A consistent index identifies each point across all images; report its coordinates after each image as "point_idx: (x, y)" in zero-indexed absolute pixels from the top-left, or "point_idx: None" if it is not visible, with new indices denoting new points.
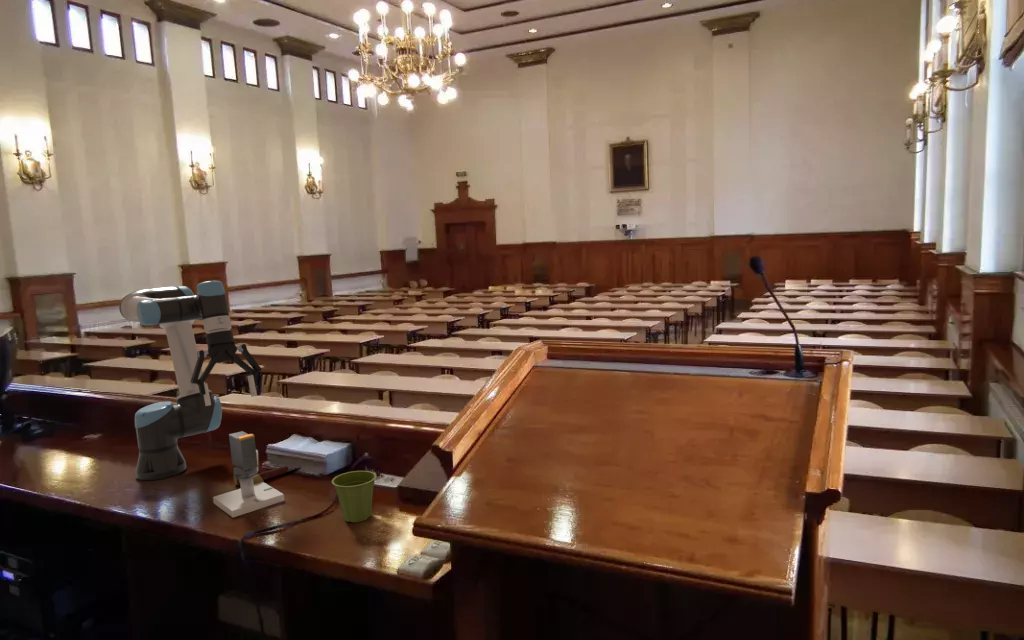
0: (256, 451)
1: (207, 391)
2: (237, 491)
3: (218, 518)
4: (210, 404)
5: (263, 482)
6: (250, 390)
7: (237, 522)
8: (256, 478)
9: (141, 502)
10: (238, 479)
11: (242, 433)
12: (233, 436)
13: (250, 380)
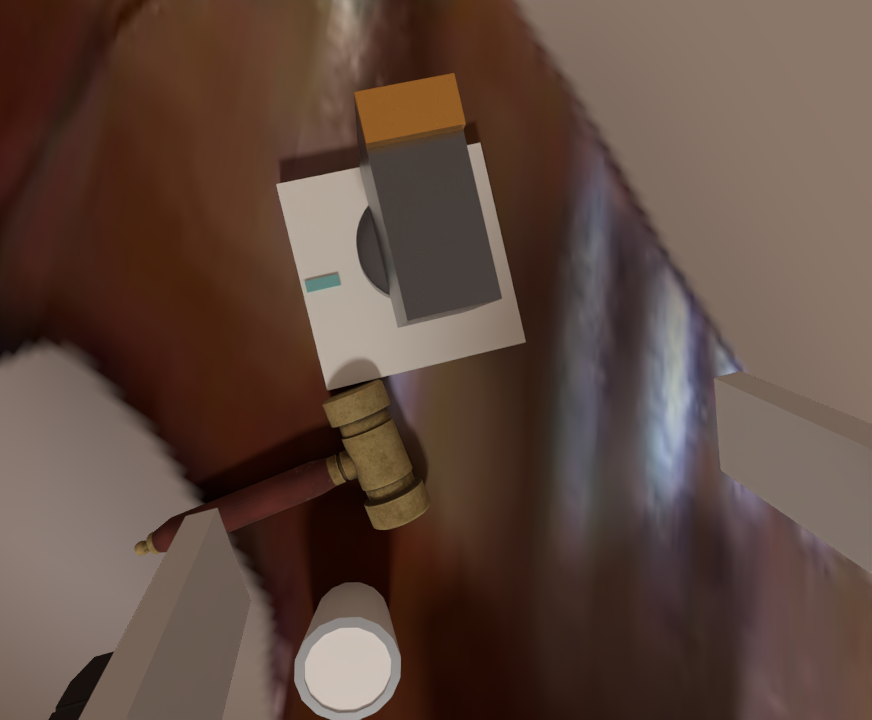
0: (302, 658)
1: (862, 434)
2: (435, 340)
3: (519, 180)
4: (724, 377)
5: (326, 378)
6: (232, 648)
7: (466, 97)
8: (350, 392)
9: (739, 523)
10: (413, 478)
11: (415, 255)
12: (480, 222)
13: (166, 711)
